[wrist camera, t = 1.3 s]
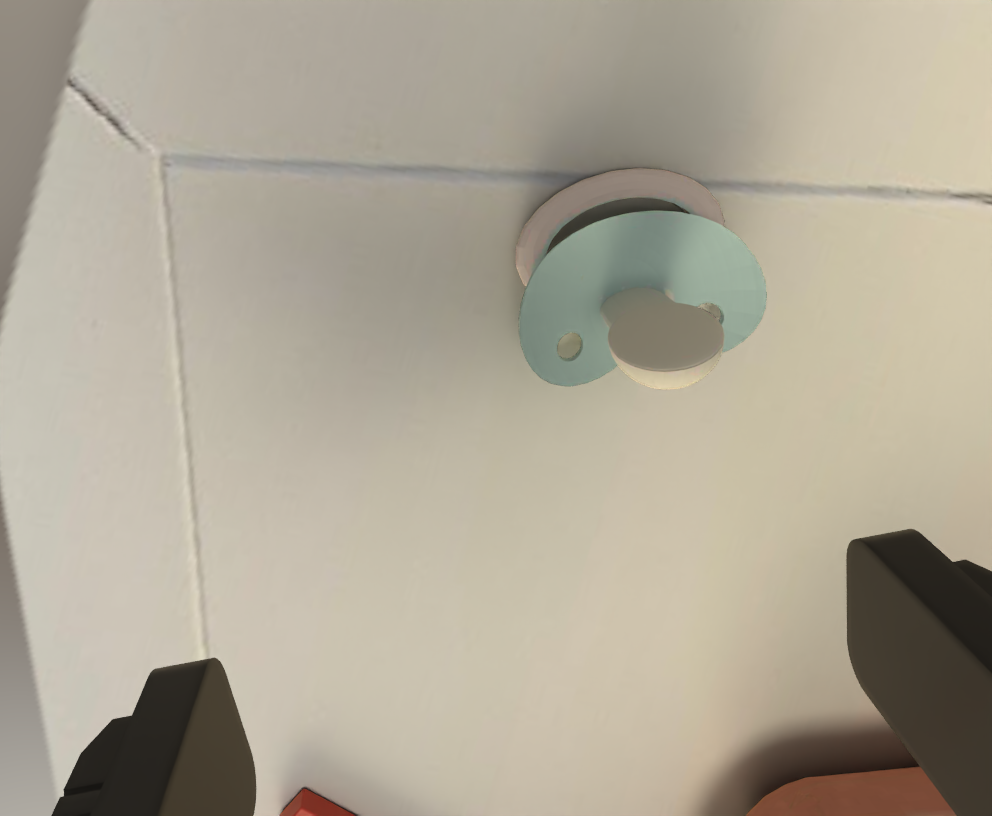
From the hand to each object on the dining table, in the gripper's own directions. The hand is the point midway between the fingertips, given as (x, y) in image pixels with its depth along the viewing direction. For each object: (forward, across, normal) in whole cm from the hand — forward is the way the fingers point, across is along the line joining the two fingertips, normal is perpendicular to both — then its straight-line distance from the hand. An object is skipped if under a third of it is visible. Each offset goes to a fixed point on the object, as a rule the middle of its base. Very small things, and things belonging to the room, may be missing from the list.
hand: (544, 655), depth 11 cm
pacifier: (+18, -5, 0) cm, 18 cm away
